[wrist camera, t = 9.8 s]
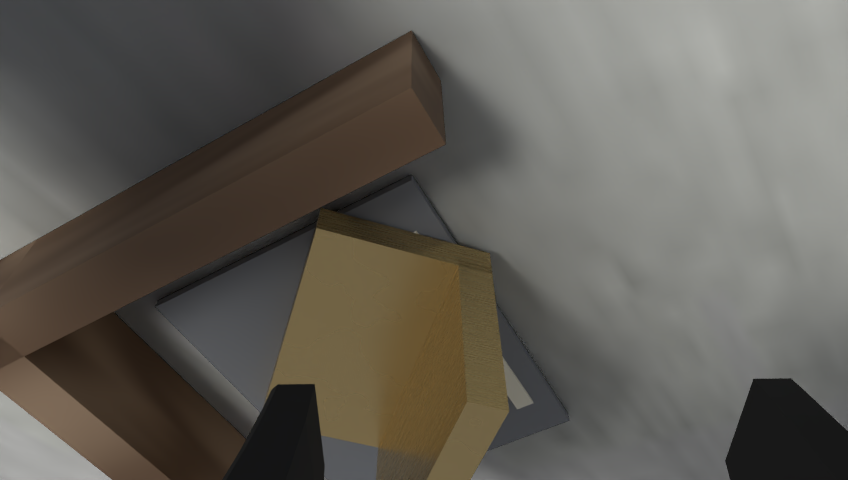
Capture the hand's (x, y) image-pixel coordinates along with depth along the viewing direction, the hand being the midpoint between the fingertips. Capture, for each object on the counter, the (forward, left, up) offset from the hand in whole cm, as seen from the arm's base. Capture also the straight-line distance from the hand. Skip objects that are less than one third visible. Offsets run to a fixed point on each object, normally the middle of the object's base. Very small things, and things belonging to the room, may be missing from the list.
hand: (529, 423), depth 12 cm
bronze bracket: (+4, -6, -9) cm, 11 cm away
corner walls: (+3, -7, -9) cm, 12 cm away
